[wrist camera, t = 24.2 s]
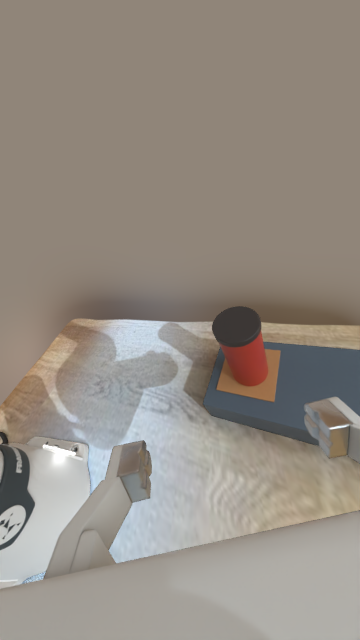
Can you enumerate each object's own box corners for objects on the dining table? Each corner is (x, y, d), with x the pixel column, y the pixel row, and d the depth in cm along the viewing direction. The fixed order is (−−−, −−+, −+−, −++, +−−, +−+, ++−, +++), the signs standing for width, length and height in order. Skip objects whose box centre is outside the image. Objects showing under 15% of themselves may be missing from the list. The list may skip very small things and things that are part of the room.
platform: (211, 415, 35) (202, 403, 32) (228, 353, 42) (222, 337, 38) (409, 471, 24) (428, 462, 20) (390, 372, 30) (402, 352, 27)
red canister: (227, 383, 32) (206, 340, 25) (235, 352, 35) (218, 305, 28) (266, 391, 30) (255, 345, 22) (271, 356, 32) (263, 306, 25)
